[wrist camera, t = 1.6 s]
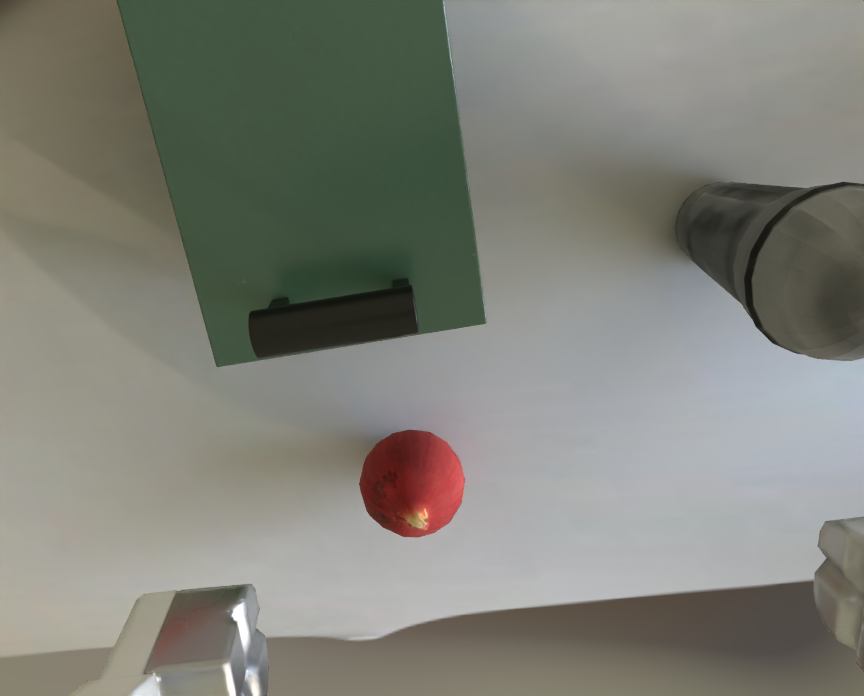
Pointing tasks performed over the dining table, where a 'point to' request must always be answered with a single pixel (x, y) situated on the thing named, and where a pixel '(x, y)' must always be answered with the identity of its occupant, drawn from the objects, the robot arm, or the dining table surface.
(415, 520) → the onion
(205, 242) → the green box lid
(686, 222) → the beverage cup
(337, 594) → the dining table surface
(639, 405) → the dining table surface
